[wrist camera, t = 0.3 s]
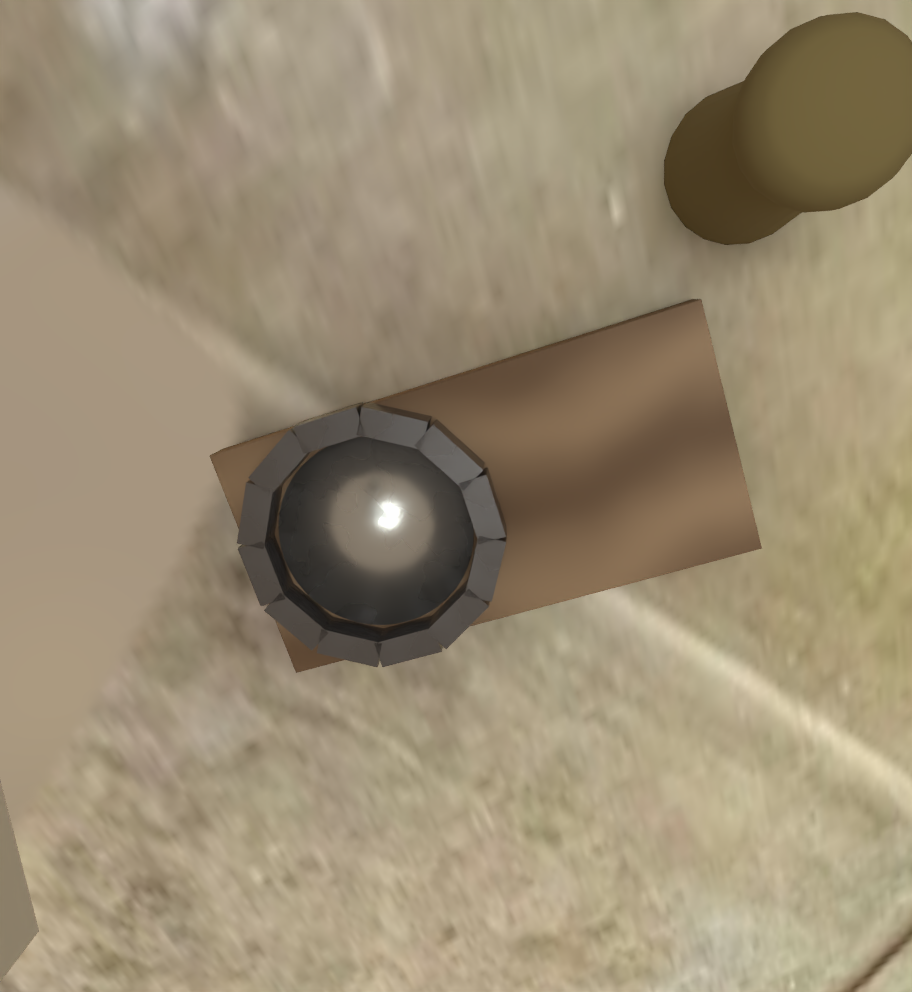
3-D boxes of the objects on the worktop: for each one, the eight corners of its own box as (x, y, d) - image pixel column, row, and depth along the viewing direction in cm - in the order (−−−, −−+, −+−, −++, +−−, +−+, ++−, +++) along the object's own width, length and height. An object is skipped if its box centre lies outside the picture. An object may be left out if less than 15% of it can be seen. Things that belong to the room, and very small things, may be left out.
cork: (776, 53, 30) (915, -76, 20) (841, 193, 32) (1005, 143, 21) (637, 140, 32) (697, 62, 21) (704, 273, 33) (793, 263, 22)
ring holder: (214, 449, 35) (200, 456, 33) (457, 372, 33) (454, 375, 32) (303, 674, 37) (294, 690, 36) (534, 613, 35) (534, 626, 34)
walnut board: (222, 448, 36) (209, 455, 35) (692, 299, 33) (701, 299, 31) (304, 657, 39) (296, 672, 37) (751, 537, 35) (761, 548, 34)
